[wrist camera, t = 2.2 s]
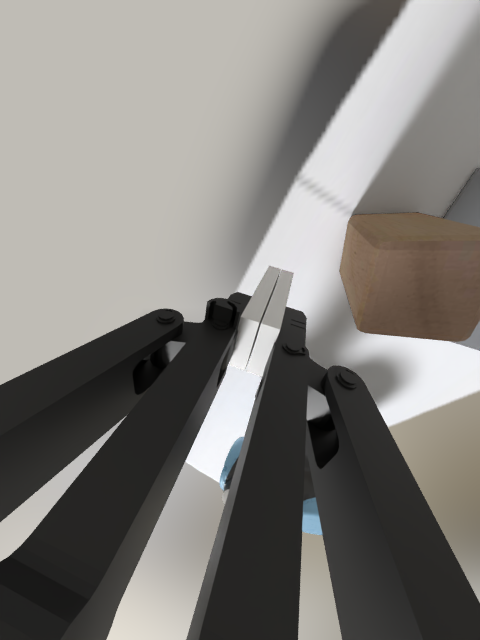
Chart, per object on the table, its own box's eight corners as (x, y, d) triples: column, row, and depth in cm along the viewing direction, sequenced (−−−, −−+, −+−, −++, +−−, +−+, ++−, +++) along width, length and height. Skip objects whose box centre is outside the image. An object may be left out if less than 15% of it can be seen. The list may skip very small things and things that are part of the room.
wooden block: (337, 274, 40) (355, 335, 23) (348, 214, 35) (379, 238, 18) (401, 276, 37) (470, 347, 21) (422, 211, 32) (537, 236, 16)
